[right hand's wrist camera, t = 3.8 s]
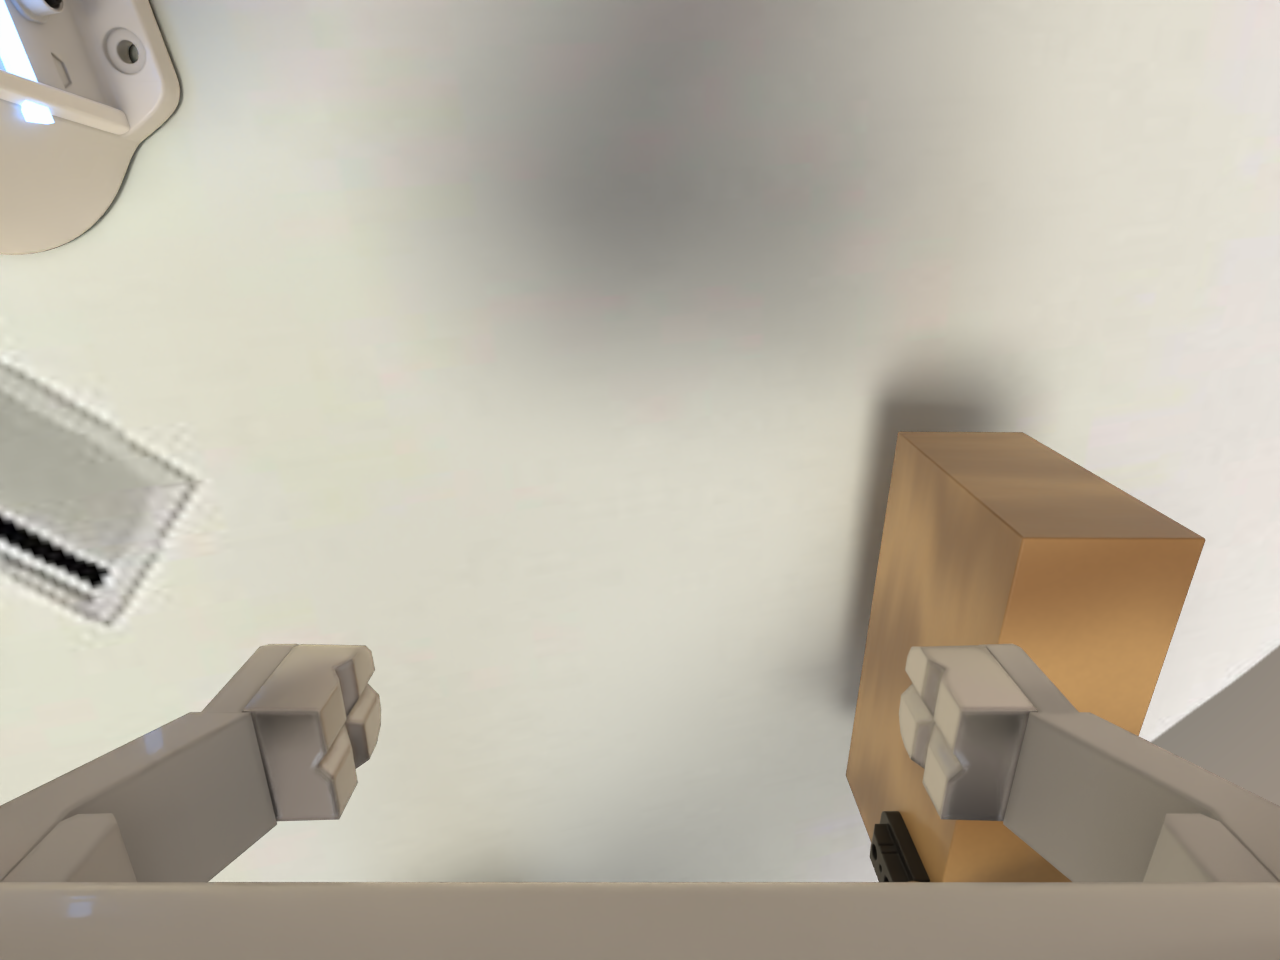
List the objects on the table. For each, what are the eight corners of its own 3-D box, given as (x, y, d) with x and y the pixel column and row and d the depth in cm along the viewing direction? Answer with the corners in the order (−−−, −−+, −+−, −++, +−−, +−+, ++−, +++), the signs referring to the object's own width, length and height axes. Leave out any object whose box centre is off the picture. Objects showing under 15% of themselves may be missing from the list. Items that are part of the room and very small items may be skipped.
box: (897, 431, 32) (1023, 538, 21) (1023, 431, 32) (1207, 538, 22) (845, 775, 39) (920, 975, 29) (947, 774, 39) (1058, 974, 29)
